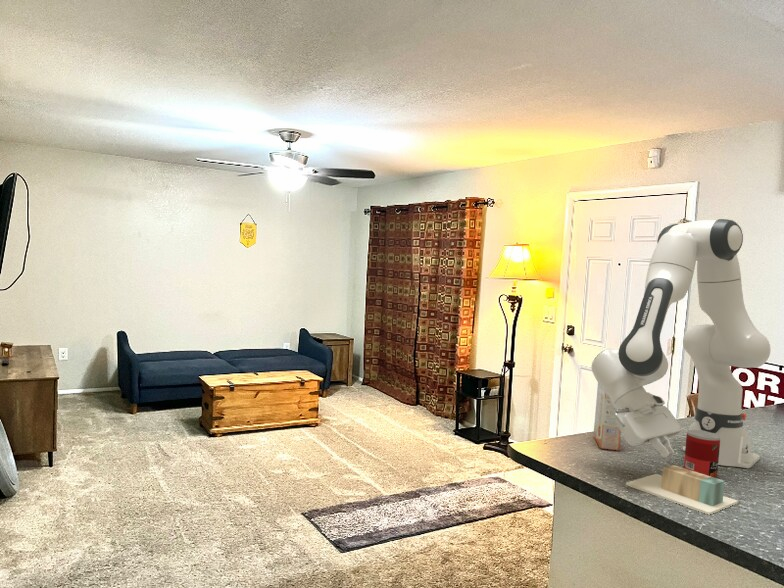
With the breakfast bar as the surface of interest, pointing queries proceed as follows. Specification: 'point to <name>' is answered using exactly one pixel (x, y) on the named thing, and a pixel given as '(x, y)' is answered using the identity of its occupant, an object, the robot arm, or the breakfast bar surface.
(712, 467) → the canned food
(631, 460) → the breakfast bar surface
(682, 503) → the felt mat
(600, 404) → the cracker box
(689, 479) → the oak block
